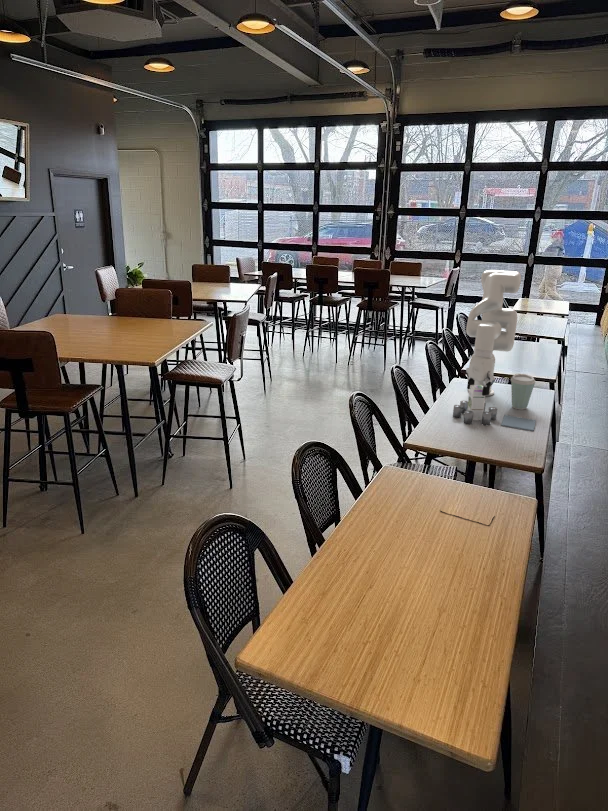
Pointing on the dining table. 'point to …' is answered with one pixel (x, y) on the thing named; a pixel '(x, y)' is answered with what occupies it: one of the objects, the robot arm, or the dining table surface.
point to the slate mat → (518, 423)
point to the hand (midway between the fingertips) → (477, 391)
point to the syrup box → (476, 401)
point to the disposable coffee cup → (521, 390)
